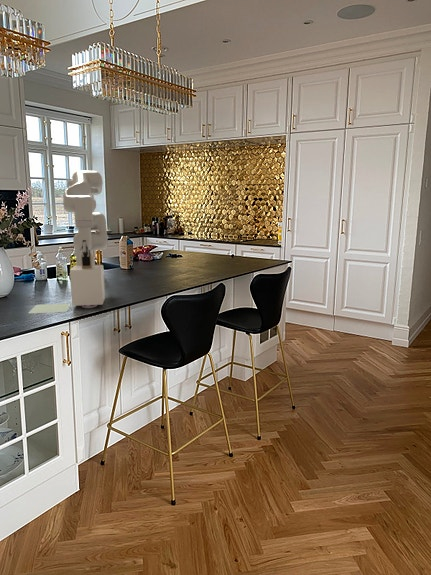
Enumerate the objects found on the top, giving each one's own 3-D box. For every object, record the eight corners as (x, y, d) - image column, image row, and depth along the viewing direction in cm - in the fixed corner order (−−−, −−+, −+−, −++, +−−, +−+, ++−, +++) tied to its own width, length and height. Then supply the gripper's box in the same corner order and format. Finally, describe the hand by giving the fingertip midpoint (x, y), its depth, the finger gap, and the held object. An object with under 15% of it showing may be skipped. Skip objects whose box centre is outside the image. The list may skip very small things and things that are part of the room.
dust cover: (76, 299, 209) (73, 252, 204) (105, 298, 211) (102, 252, 206) (72, 305, 196) (69, 256, 191) (102, 304, 198) (100, 255, 194)
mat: (36, 305, 206) (36, 304, 206) (71, 304, 209) (71, 303, 209) (27, 314, 191) (27, 313, 191) (66, 312, 194) (66, 311, 193)
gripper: (78, 223, 204) (80, 262, 207) (73, 225, 187) (75, 267, 191) (95, 223, 205) (97, 262, 208) (91, 225, 189) (93, 267, 192)
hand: (87, 264), depth 200 cm, fingers closed on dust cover, 4 cm apart
